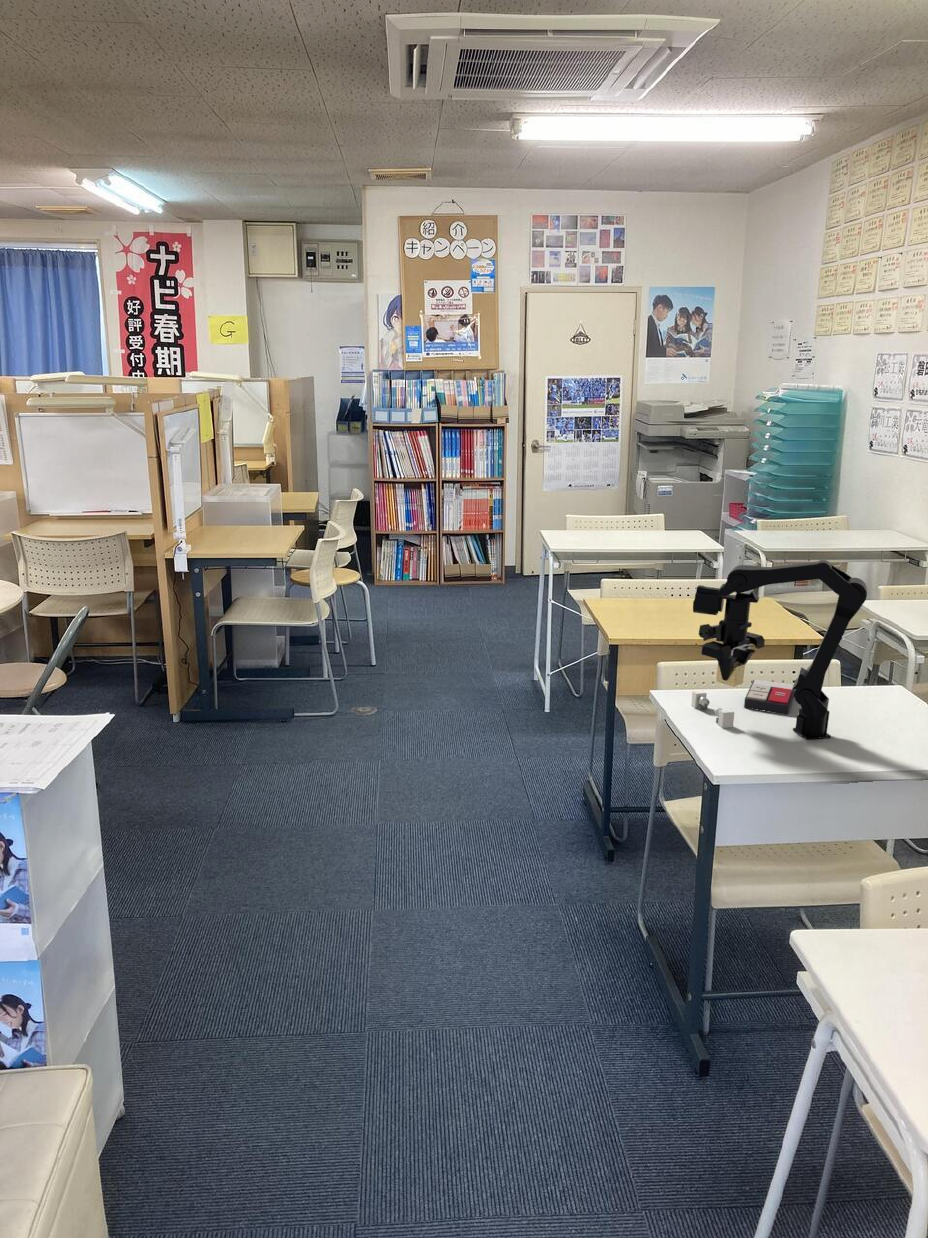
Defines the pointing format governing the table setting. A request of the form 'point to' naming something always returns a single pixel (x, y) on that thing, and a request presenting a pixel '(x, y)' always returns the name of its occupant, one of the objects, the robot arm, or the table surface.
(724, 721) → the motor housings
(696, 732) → the table surface
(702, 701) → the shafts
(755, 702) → the red and grey box
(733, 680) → the tan block
